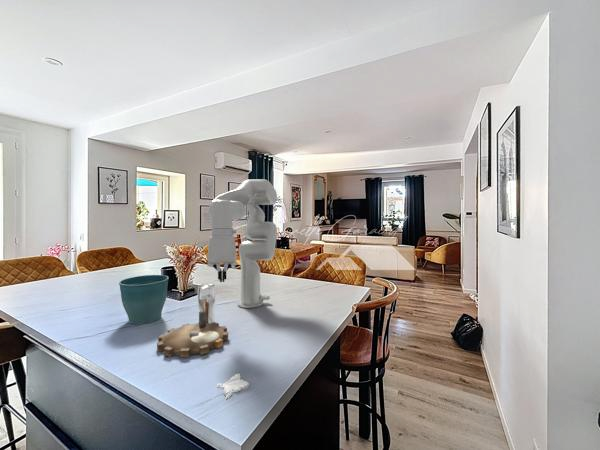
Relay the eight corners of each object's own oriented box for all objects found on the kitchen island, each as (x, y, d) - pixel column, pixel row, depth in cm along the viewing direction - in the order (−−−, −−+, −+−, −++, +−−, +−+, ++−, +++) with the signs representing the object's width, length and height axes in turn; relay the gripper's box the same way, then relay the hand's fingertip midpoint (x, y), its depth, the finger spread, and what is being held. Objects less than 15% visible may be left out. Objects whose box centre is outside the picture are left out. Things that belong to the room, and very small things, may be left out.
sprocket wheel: (227, 324, 109) (227, 305, 108) (229, 351, 87) (229, 328, 87) (164, 330, 102) (164, 310, 102) (149, 362, 80) (149, 336, 80)
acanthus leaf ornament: (238, 377, 75) (238, 370, 75) (252, 389, 70) (252, 381, 70) (212, 388, 69) (212, 381, 69) (225, 402, 64) (226, 394, 64)
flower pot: (133, 331, 102) (133, 287, 101) (110, 321, 112) (110, 280, 111) (177, 317, 117) (177, 278, 117) (154, 309, 127) (153, 273, 126)
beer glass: (218, 320, 114) (218, 284, 114) (208, 326, 108) (208, 288, 107) (205, 317, 117) (205, 283, 116) (193, 323, 110) (193, 287, 110)
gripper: (241, 232, 108) (241, 278, 109) (201, 232, 104) (201, 280, 104) (243, 233, 101) (243, 282, 101) (200, 233, 97) (200, 285, 97)
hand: (222, 281), depth 103 cm, fingers closed
